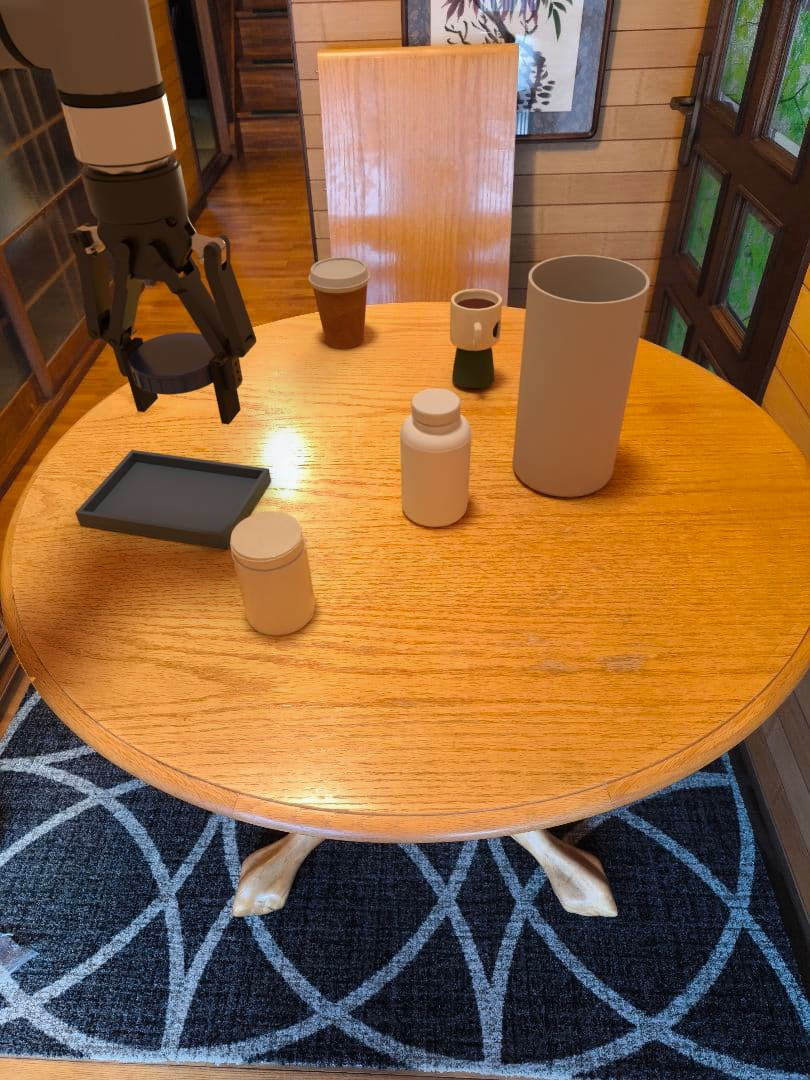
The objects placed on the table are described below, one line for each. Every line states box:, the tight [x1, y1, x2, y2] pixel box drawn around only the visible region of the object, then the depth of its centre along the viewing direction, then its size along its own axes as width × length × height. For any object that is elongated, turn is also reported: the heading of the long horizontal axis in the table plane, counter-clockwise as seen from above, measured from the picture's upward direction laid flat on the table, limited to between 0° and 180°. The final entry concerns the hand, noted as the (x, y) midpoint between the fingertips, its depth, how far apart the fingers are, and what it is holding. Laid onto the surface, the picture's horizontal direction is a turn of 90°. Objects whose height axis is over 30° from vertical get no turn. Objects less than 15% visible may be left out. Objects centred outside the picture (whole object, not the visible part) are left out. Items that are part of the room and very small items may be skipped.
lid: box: [129, 332, 215, 396], centre depth 71 cm, size 8×8×2 cm
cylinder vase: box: [512, 254, 651, 498], centre depth 89 cm, size 12×12×25 cm
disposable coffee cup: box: [307, 256, 371, 350], centre depth 121 cm, size 10×10×12 cm
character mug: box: [449, 288, 503, 389], centre depth 109 cm, size 11×7×13 cm, turn 0°
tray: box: [74, 449, 272, 550], centre depth 93 cm, size 19×13×2 cm
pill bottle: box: [399, 387, 472, 528], centre depth 87 cm, size 8×8×15 cm
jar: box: [230, 511, 316, 636], centre depth 76 cm, size 7×7×11 cm
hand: (189, 410), depth 74 cm, fingers closed on lid, 8 cm apart
